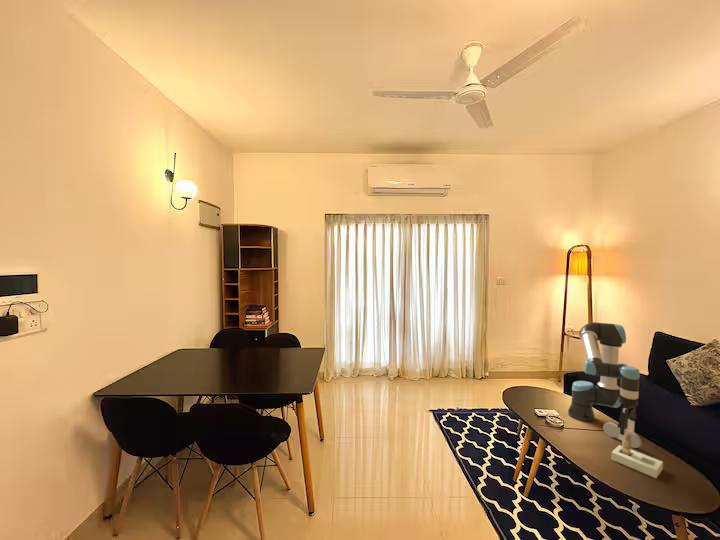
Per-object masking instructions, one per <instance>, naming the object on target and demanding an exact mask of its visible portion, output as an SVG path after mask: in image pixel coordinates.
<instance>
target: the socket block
mask: <svg viewBox="0 0 720 540" xmlns="http://www.w3.org/2000/svg"><path fill="white" fill-rule="evenodd" d="M621 452H622V444H621V445H620V444H619V445H618V446H617V447H615V449H613V450H612V451H611V454H610V455H611V461H613V462H616V463H619V464H620V465H621V464H622V465H623V466H625V467H628V468H631V469H633V470H635V471H637V472H640V473H643V474H645V475H647V476H649V477H652V478H654V479H657V478H658V477H659V475H660V474H661V472H662V471H663V468H664V461H663V460H661V459H660V460H659V459H657V458H655V457H651V456H649V455H647V454H644V453H641V452H639V451H636V450H633V449H631V450H630V456H627V455H625V454H622V453H621Z"/></svg>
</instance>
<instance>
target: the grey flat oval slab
mask: <svg viewBox="0 0 720 540" xmlns="http://www.w3.org/2000/svg"><path fill="white" fill-rule="evenodd" d="M617 425H618V424H616V423H614V422H612V421H611V422H610V421H608V422H605V423H604V424H603V426H602V429H603V431H604V433H605V434H606V435H607V436H608V437H610V438H615V439H617V440H619V441H621V442H622V440H620V439H619V427H617ZM626 433H629V434H631V448H633V449H637V448H641V446H642V439H641V437H640V436H639V435H638V433H636V432H634V433H631V432H628V431H627V428H626Z"/></svg>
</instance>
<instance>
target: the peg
mask: <svg viewBox="0 0 720 540" xmlns="http://www.w3.org/2000/svg"><path fill="white" fill-rule="evenodd" d="M621 446H622V452H621V453H622V454H625V455H627V456H630V450H632V447H631V434H629V433H626V441H621Z"/></svg>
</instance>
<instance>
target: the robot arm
mask: <svg viewBox="0 0 720 540" xmlns="http://www.w3.org/2000/svg"><path fill="white" fill-rule="evenodd" d="M578 336H579V339H580V341H581V342H582V345H583V350H584V354H585V358H586V360H585V361H584V362H583V371H584V373H585V374H586V375H591V376H597V377H598V376H599V377H600V380H599V381H598V382H597V383H596V384H597V385H594V383H593V382H591V381H586V380H576V381H573V383H572V386H571V404H570V405H569V408H568V410H567V411H568V412H567V414H568V416H569V417H571V418H572V419H575V420H578V421H579V422H580V421H582V422H588V423H592V422H595V421H596V415H595V411H594V409H593V405H598V406H605V407H608V408H615V409H617V408H619V407H621V405H623V406H622V407H621V408H620V415H619V419H618V423H617V424H616V425H617V427H619V439H620V440H619V439H618V440H619V441H621V440H622V441H626V429H627V431H628V432H631V433H635V423H636V422H637V421H638V419H637V413H636V408H637V407H638V406H639V395H640V394H639V388H640V379H641V378H640V377H641V376H640V370H639V368H636V367H635V366H630V365H627V364H626V363H623V362H622V363H621V362H620V363H619V352H620V350H619V349H620V348H622V346H623V345H624V344H626V342H627V337H626V336H627V334H626V331H625V327H624V326H622V325H621V324H615V323H605V322H604V323H603V322H596V321H595V322H589V323H587V324H585V325H584V326H582V327H581V328H580V330H579V334H578ZM598 342H599V344H600V345H601V351H600V348H599V344H598ZM618 380H620V382H619V383H620V385H618ZM622 441H621V442H622Z"/></svg>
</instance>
